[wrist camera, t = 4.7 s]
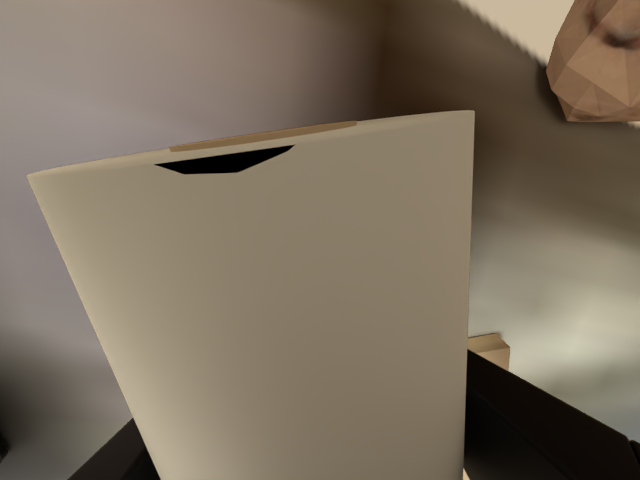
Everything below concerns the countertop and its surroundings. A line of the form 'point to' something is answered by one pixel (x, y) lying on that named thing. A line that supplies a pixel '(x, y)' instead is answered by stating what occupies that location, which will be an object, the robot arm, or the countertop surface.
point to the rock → (598, 62)
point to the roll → (283, 296)
